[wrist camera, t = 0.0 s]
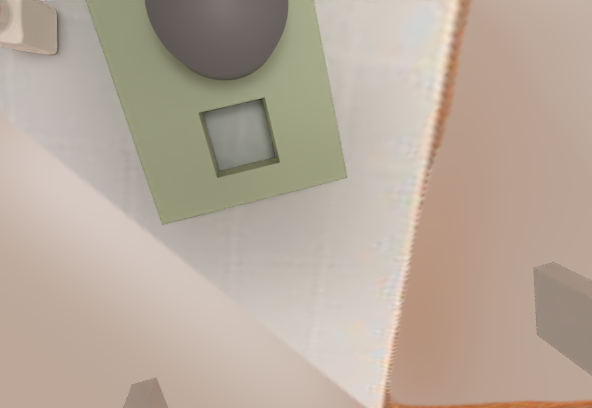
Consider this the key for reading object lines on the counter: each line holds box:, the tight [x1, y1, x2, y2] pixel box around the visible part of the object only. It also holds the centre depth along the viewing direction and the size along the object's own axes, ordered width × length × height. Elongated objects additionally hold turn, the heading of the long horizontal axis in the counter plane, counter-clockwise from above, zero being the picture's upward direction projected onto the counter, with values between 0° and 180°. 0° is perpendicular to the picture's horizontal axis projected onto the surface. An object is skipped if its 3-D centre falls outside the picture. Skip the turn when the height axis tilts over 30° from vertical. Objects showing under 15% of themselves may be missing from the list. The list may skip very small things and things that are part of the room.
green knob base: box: [86, 0, 347, 225], centre depth 32 cm, size 22×18×9 cm
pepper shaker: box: [0, 0, 57, 55], centre depth 28 cm, size 4×4×10 cm
